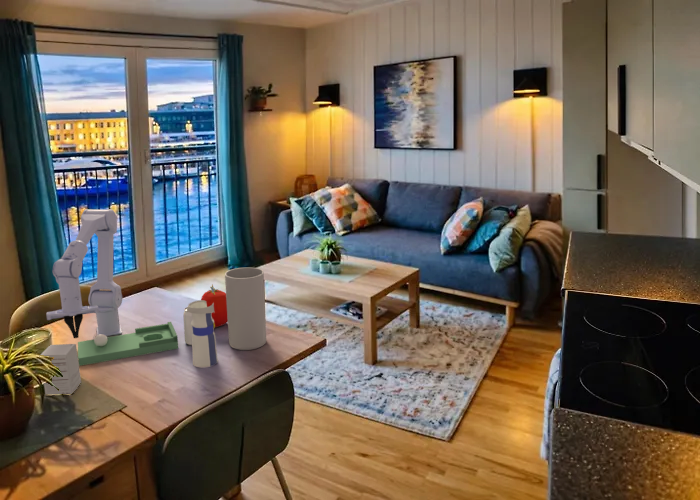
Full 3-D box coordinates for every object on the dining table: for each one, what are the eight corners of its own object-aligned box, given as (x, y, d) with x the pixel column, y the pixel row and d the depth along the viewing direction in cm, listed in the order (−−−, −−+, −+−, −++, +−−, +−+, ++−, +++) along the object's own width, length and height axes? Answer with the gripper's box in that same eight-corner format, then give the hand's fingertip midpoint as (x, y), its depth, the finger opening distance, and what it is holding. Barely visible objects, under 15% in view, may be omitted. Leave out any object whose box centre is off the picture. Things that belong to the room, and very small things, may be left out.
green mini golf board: (78, 348, 187) (77, 336, 186) (172, 333, 200) (171, 321, 199) (79, 365, 175) (77, 352, 174) (178, 348, 188) (177, 335, 186)
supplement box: (55, 384, 164) (49, 344, 160) (82, 383, 164) (76, 343, 161) (44, 397, 156) (38, 355, 153) (72, 395, 157) (66, 354, 154)
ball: (94, 344, 184) (93, 333, 183) (107, 342, 186) (106, 331, 185) (95, 349, 181) (93, 337, 180) (108, 347, 183) (107, 335, 182)
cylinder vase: (221, 343, 191) (217, 273, 185) (251, 333, 200) (248, 265, 194) (244, 354, 183) (240, 280, 177) (274, 342, 192) (271, 272, 185)
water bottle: (204, 353, 183) (199, 280, 177) (224, 359, 179) (219, 284, 173) (185, 363, 176) (179, 287, 170) (205, 369, 172) (200, 292, 166)
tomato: (219, 317, 215) (217, 282, 211) (240, 324, 208) (238, 287, 205) (193, 328, 205) (190, 291, 201) (214, 335, 198) (211, 297, 195)
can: (199, 346, 189) (197, 312, 186) (181, 344, 190) (179, 311, 187) (207, 339, 195) (206, 306, 192) (190, 337, 196) (188, 304, 193)
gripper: (44, 303, 170) (50, 345, 173) (96, 297, 176) (101, 337, 179) (45, 296, 176) (50, 337, 179) (95, 290, 182) (100, 329, 185)
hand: (76, 337), depth 179 cm, fingers closed
